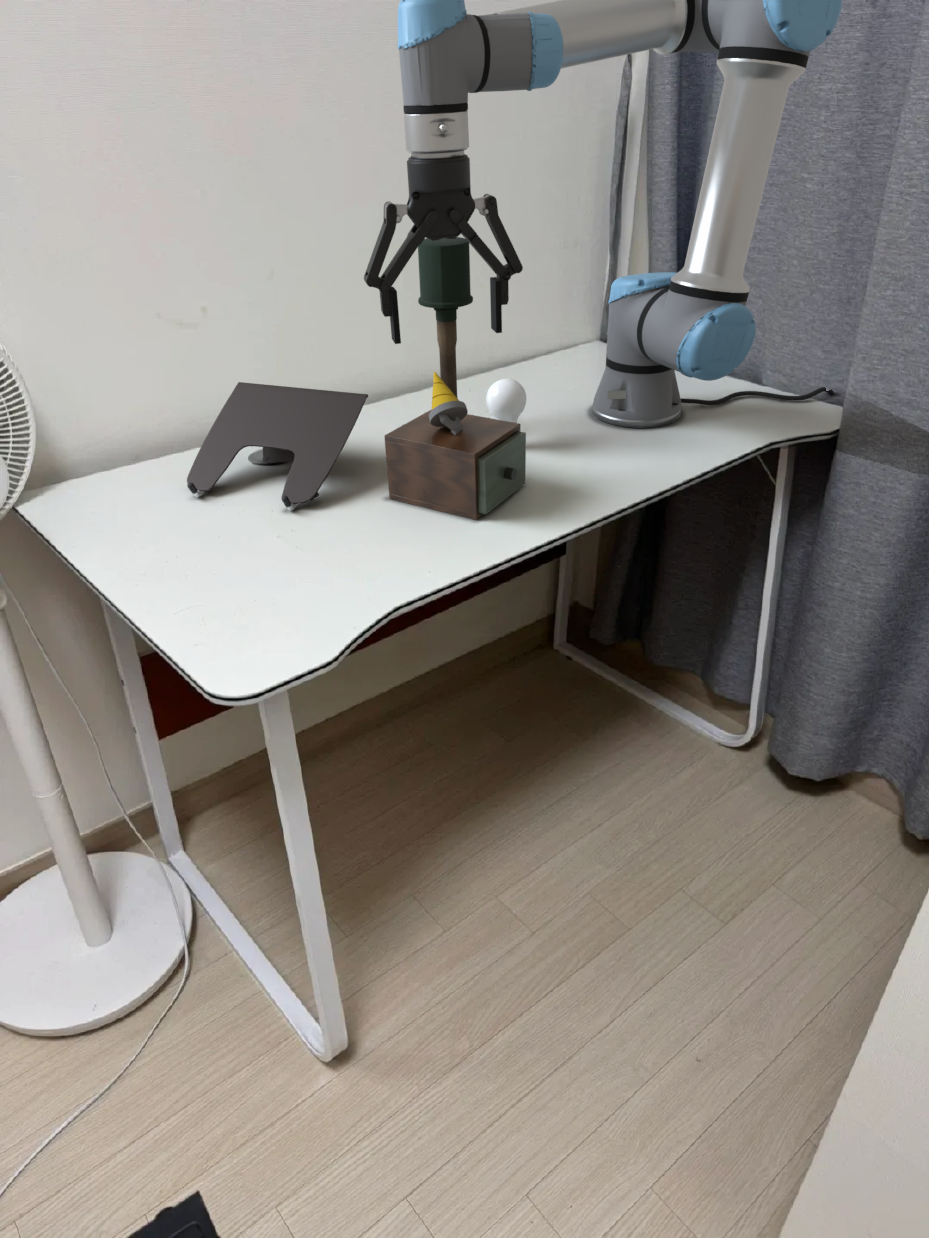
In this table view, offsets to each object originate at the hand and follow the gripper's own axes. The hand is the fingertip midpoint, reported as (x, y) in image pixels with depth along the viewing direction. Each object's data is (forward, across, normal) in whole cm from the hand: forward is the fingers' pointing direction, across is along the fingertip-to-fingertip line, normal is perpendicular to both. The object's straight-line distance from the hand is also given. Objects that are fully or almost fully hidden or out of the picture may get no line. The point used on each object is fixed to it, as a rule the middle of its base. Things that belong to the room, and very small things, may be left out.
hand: (446, 336), depth 114 cm
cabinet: (+22, 0, -1) cm, 22 cm away
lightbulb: (+23, +12, +14) cm, 29 cm away
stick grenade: (+22, +5, +24) cm, 33 cm away
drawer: (+21, +2, -3) cm, 22 cm away
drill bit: (+13, -1, 0) cm, 13 cm away
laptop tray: (+22, -25, +12) cm, 36 cm away
